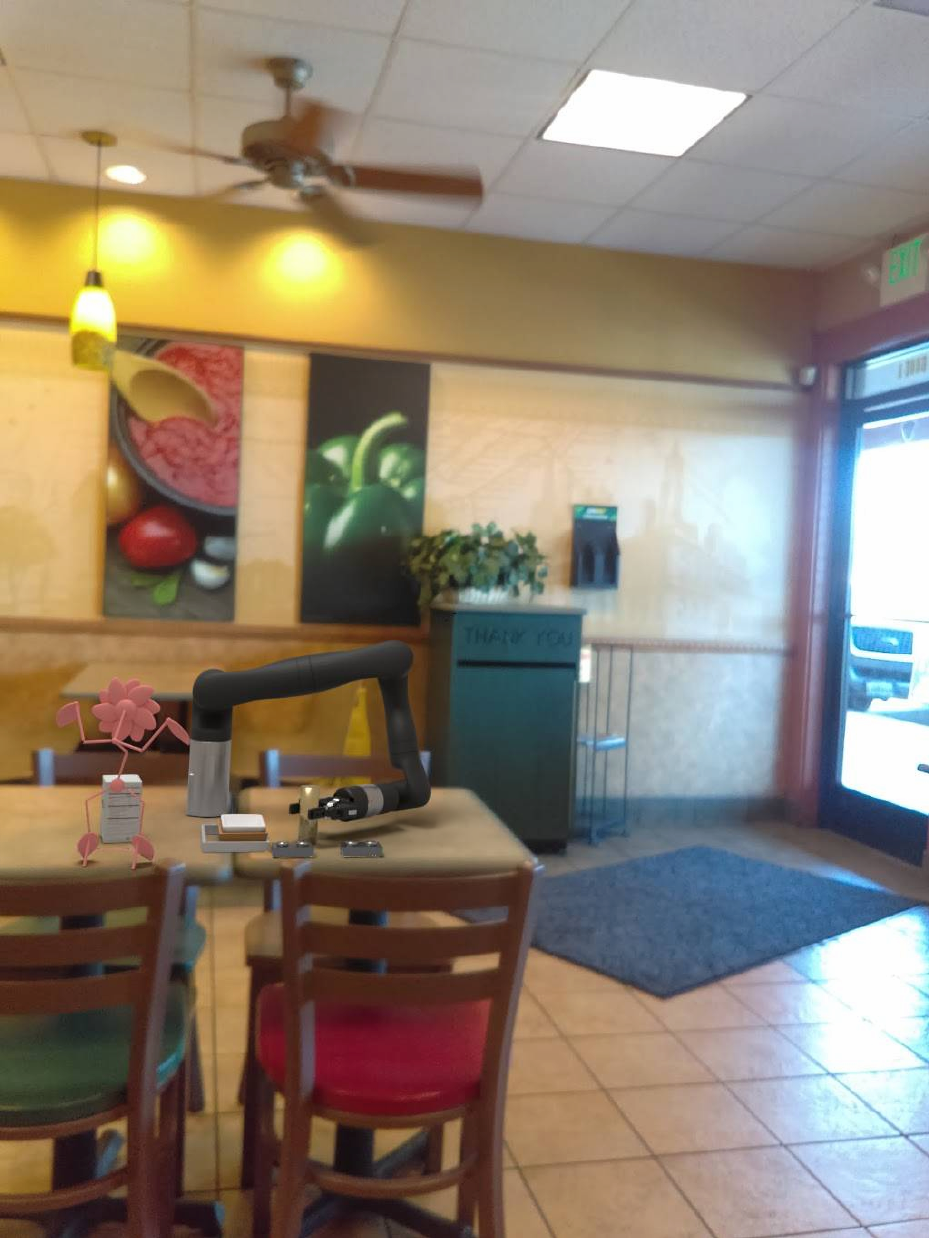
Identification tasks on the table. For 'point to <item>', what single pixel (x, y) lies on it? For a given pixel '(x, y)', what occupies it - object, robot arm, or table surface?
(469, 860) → the table surface
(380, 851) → the chain end
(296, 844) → the block
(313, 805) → the link pin
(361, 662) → the robot arm
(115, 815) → the supplement box
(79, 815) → the table surface
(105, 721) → the pink flower figurine
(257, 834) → the soap dish
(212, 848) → the coaster tray
